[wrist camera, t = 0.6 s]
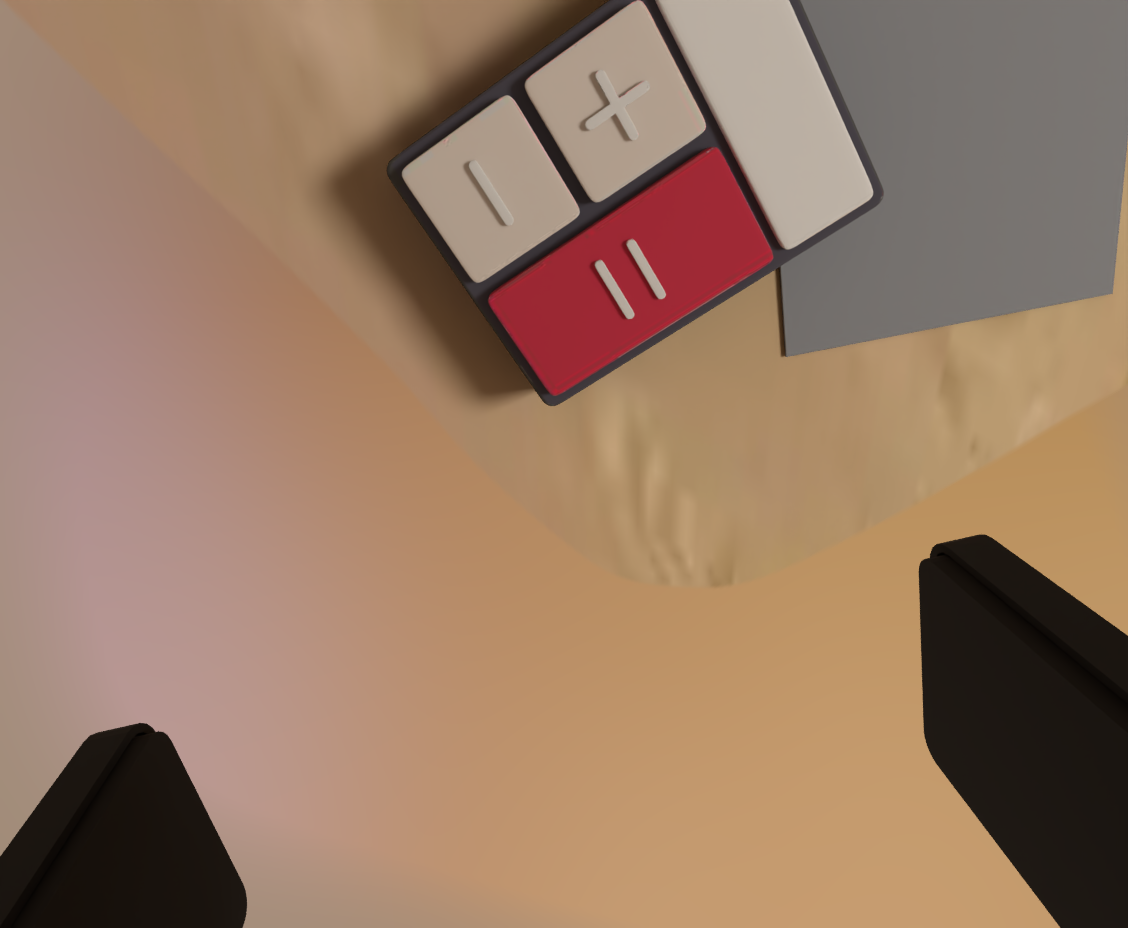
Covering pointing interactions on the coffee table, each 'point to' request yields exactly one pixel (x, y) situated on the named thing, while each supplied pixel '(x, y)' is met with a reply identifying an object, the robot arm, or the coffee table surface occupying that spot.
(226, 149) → the coffee table surface
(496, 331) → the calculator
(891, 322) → the desk mat
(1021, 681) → the robot arm
